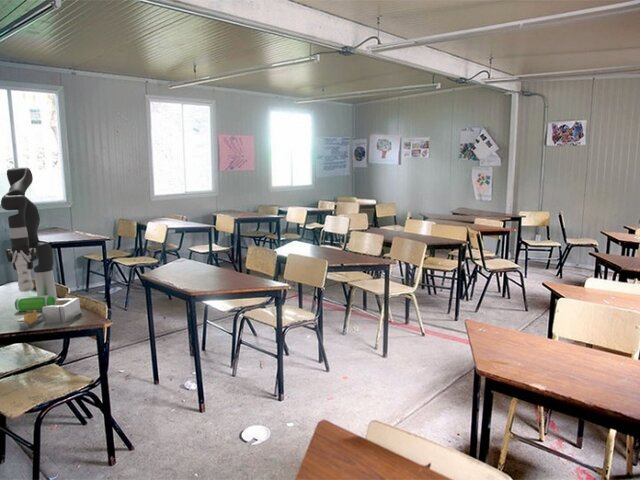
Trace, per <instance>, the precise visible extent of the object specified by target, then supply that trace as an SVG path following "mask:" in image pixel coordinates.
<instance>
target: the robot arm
mask: <svg viewBox="0 0 640 480" xmlns="http://www.w3.org/2000/svg"><path fill="white" fill-rule="evenodd" d="M6 178H7V181H8V183H9V186H10V187H9V189H8V192H6V193H5V194H4V195H3V196H2V197H1V200H0V207H2V209H3V210H4V211H17V213H15V214H11V215H9V216H8V217H7V222H8V230H9V231H8V232H9V239H10V245H11V248H9V249H5V255H6V258H7V262H9V263H12V268H13V269H14V271H17V269H16V265H15V261H16V259H17V258H18V256H17V253H21V254H22V255H23V257H24V258H25V259H27V261H28V268H29V270H30V271H31V270H33V274H34V281H35V288H36V296H47V295H48V296H53V297H54V299H55V300H57V299H58V295H57V288H56V282H55V277H54V269H53V267H54V253H53V248H52V246H51V245H50V243H48V242H41V241H40V239H39V235H38V230H39V226H40V222H41V218H40V213H39V210H38V207H37V205H36V204H35V203H33V202H32V200H31V199H29V198H28V197H27V196H25V195H26V192H27V190H28V189H29V187H30V186H31V184H33V173H32V170H31V169H30V168H29V167H26V166H24V167H23V166H22V167H16V168H15V167H14V168H9V169H7V170H6ZM36 260H38V264H37V265H34V261H36Z"/></svg>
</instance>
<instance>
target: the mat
mask: <svg viewBox="0 0 640 480" xmlns="http://www.w3.org/2000/svg"><path fill="white" fill-rule="evenodd" d="M41 314H43V312H42V313H37V316H39V315H41ZM16 322H18V323H22V322H24V316H22V317H20V318H18V319H16Z"/></svg>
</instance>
